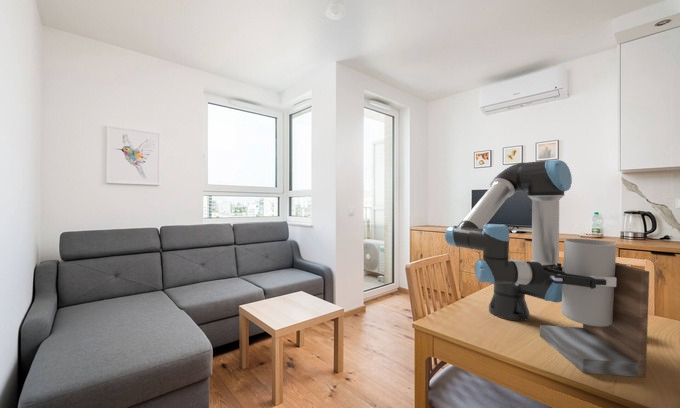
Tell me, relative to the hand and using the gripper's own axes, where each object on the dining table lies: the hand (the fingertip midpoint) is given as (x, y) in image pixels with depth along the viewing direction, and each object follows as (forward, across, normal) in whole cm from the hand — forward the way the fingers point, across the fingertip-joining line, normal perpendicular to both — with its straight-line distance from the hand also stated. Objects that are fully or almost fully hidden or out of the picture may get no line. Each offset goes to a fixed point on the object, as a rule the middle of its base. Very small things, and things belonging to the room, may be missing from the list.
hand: (598, 275), depth 92 cm
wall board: (-3, 0, -26) cm, 26 cm away
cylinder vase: (-3, 0, -14) cm, 15 cm away
